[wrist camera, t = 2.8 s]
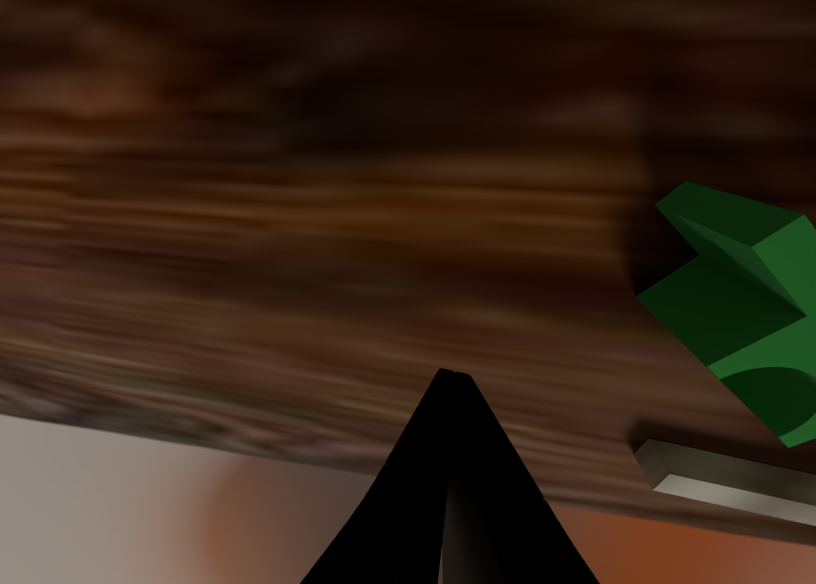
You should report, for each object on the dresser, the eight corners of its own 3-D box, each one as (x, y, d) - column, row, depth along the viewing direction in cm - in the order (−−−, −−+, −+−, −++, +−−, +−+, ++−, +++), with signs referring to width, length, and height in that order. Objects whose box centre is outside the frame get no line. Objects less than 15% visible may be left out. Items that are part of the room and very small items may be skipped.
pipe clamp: (589, 251, 13) (649, 310, 9) (681, 179, 11) (804, 212, 7) (734, 394, 15) (831, 490, 11) (826, 353, 14) (978, 448, 10)
